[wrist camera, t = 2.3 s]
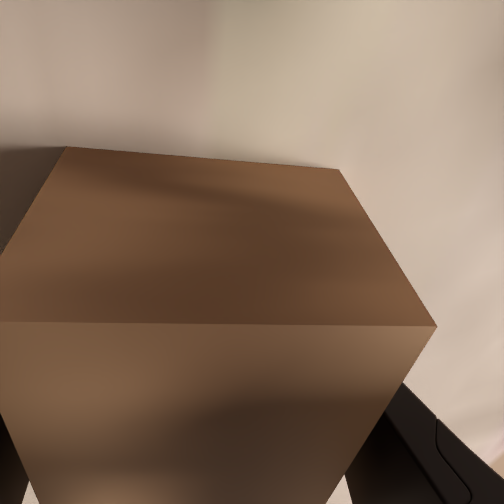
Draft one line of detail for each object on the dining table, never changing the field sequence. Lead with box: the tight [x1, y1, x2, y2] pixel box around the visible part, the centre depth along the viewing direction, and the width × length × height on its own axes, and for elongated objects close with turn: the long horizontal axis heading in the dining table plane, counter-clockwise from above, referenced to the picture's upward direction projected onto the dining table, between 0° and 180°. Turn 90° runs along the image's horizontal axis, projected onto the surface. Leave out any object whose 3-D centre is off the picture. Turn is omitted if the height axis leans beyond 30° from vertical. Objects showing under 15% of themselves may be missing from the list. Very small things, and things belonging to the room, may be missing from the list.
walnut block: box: [0, 146, 437, 504], centre depth 9 cm, size 6×8×5 cm
